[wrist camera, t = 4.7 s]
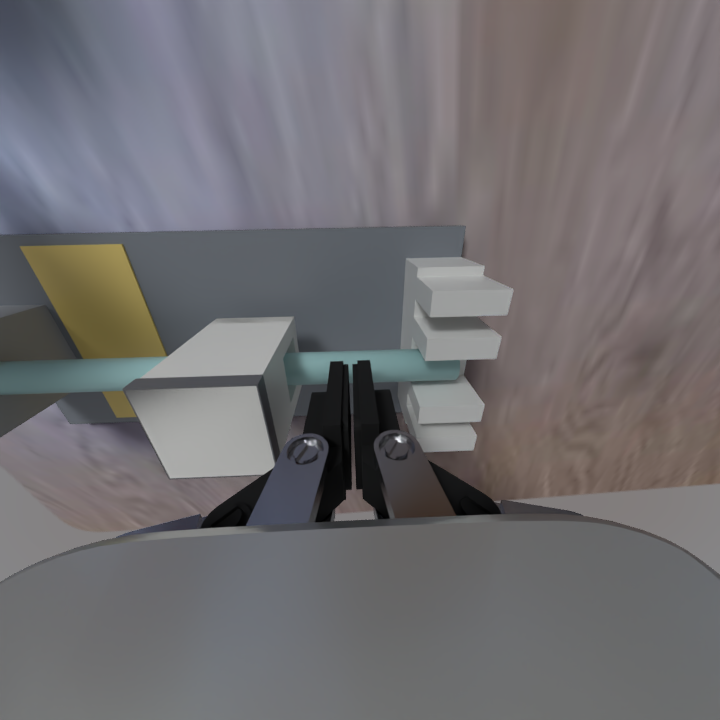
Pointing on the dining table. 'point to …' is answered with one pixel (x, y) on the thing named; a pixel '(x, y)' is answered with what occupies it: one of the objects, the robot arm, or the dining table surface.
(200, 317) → the cable rig
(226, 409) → the sleeve
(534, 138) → the dining table surface
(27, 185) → the dining table surface
